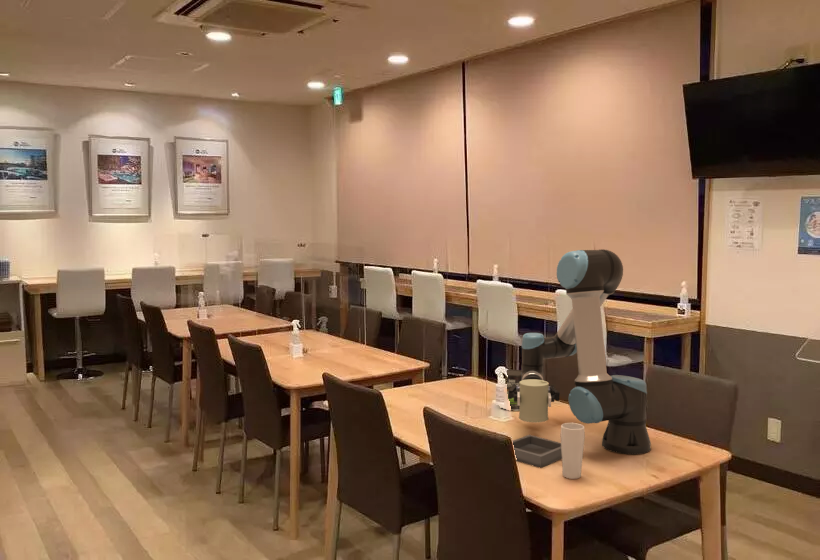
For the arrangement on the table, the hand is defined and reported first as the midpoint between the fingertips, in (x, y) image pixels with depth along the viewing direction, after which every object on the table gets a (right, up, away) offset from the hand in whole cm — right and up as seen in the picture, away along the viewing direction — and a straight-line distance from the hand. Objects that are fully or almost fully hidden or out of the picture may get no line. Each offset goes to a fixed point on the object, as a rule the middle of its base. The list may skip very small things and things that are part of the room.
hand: (534, 401), depth 228 cm
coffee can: (+2, -12, +60) cm, 61 cm away
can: (+1, -6, +5) cm, 8 cm away
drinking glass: (+9, -20, -14) cm, 25 cm away
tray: (+1, -18, +4) cm, 18 cm away
